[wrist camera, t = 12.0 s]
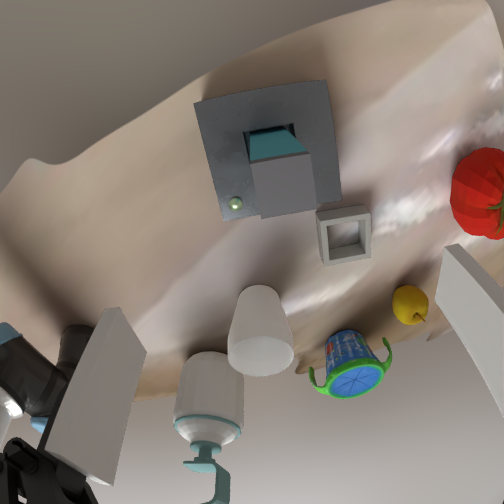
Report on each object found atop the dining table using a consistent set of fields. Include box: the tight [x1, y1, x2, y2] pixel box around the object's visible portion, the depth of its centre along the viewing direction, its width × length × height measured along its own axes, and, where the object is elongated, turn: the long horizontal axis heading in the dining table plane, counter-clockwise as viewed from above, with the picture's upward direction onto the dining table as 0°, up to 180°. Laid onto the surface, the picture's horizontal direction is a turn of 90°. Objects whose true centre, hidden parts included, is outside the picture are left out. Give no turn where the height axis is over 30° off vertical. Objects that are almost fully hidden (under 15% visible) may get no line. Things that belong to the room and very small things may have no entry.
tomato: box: [450, 147, 504, 240], centre depth 32 cm, size 13×14×12 cm
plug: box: [250, 126, 318, 219], centre depth 27 cm, size 4×4×17 cm
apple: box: [392, 285, 429, 325], centre depth 44 cm, size 6×6×8 cm
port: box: [193, 80, 342, 221], centre depth 33 cm, size 14×14×6 cm
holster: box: [316, 205, 371, 266], centre depth 40 cm, size 7×7×3 cm
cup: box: [227, 285, 294, 377], centre depth 42 cm, size 9×9×12 cm
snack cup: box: [309, 329, 392, 399], centre depth 49 cm, size 16×10×10 cm
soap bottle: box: [173, 351, 244, 504], centre depth 43 cm, size 12×12×31 cm
